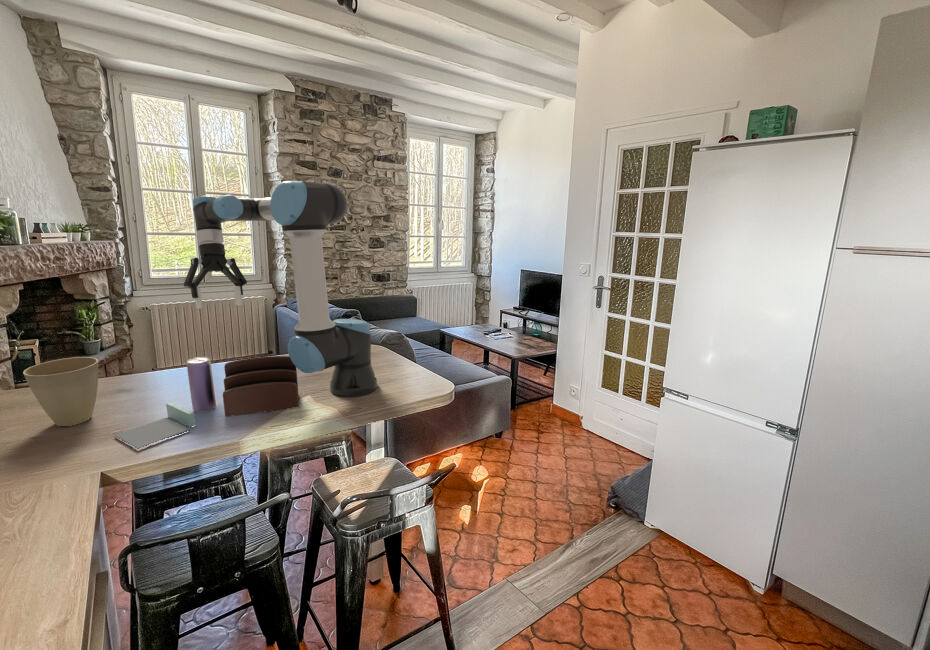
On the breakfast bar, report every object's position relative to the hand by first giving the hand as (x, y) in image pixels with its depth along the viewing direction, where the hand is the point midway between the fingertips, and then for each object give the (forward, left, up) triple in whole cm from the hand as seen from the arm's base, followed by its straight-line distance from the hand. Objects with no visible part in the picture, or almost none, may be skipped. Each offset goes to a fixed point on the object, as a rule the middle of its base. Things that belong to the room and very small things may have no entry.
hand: (220, 306), depth 153 cm
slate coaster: (-26, +36, -24) cm, 51 cm away
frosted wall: (-24, +28, -24) cm, 44 cm away
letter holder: (-33, +9, -25) cm, 42 cm away
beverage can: (-21, +20, -25) cm, 38 cm away
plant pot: (0, +44, -25) cm, 50 cm away
